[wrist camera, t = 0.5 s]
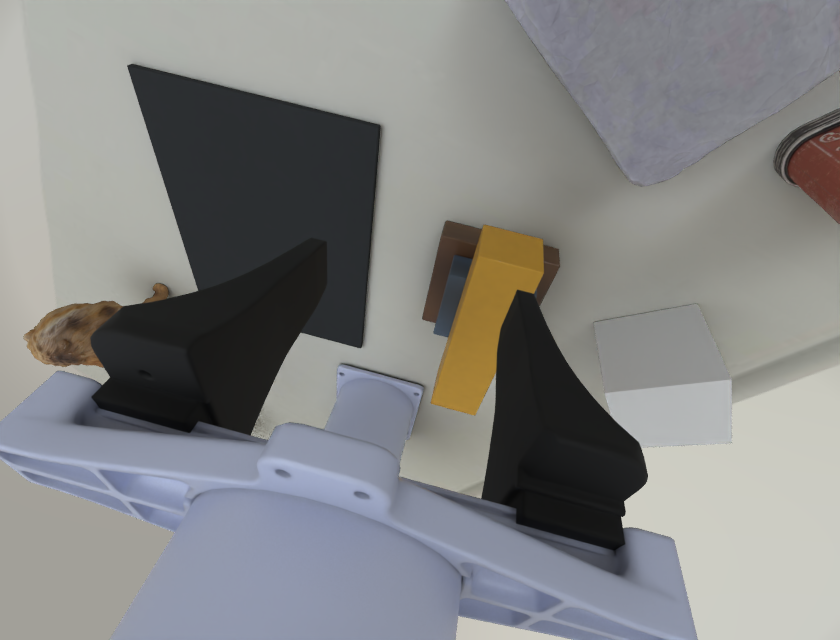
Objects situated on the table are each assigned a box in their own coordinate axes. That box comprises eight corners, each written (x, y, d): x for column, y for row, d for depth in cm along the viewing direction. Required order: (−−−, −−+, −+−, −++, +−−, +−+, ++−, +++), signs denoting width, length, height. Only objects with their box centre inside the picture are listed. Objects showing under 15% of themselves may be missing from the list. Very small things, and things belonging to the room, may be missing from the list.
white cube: (701, 366, 28) (732, 443, 24) (608, 377, 30) (620, 449, 26) (697, 302, 24) (732, 380, 20) (593, 321, 27) (604, 393, 23)
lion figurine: (101, 278, 35) (4, 354, 29) (120, 250, 32) (16, 327, 26) (241, 375, 41) (187, 455, 35) (268, 359, 38) (214, 444, 32)
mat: (362, 345, 34) (360, 348, 33) (205, 303, 34) (203, 306, 34) (380, 124, 21) (378, 127, 21) (131, 63, 22) (126, 65, 21)
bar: (479, 382, 28) (475, 416, 26) (437, 371, 28) (430, 403, 26) (543, 238, 19) (544, 272, 17) (483, 223, 20) (477, 255, 18)
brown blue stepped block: (520, 327, 29) (519, 367, 26) (426, 303, 29) (415, 340, 26) (559, 248, 24) (562, 287, 21) (446, 219, 24) (434, 254, 21)
